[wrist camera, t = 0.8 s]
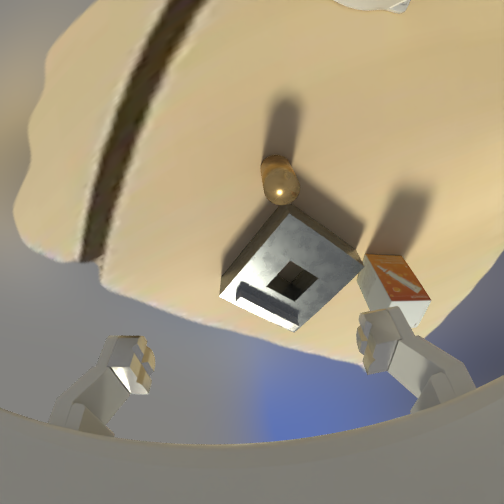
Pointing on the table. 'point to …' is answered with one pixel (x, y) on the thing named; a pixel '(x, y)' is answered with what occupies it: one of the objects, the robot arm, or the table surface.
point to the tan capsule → (279, 180)
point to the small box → (393, 287)
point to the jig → (275, 259)
